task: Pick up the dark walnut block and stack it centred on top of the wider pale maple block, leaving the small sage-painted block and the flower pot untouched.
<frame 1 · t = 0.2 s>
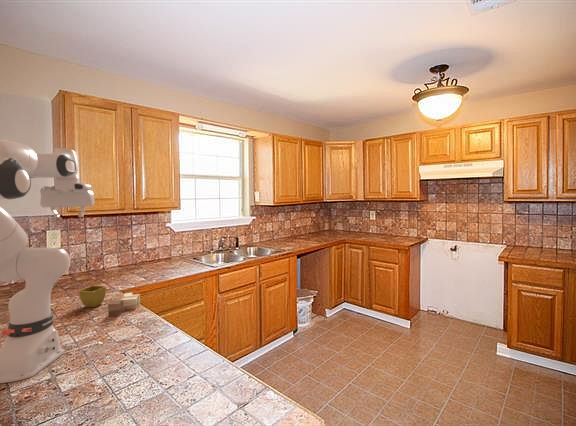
hand: (69, 217, 135), 47 cm above the countertop, fingers open, 8 cm apart
flower pot: (93, 305, 157), on the countertop
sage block: (128, 301, 162), on the countertop
maple block: (131, 306, 155), on the countertop
walnut cube: (116, 314, 146), on the countertop
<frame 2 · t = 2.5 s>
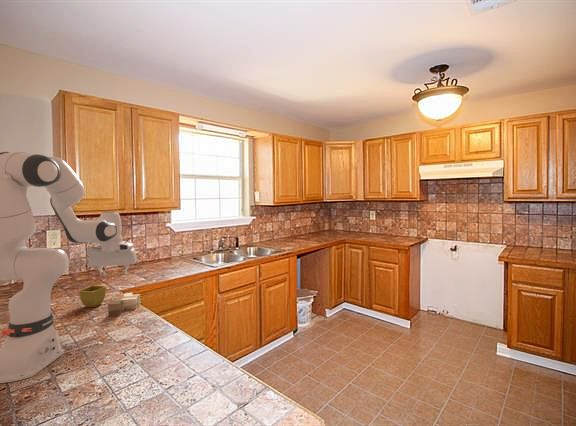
hand: (113, 274, 144), 19 cm above the countertop, fingers open, 8 cm apart
nothing on the countertop moved.
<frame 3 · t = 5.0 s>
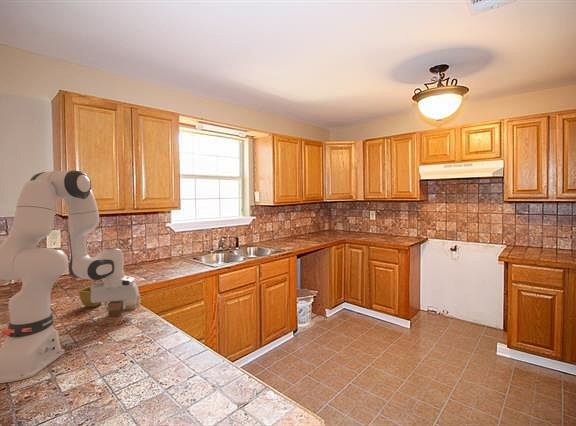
hand: (116, 309, 146), 2 cm above the countertop, fingers closed on walnut cube, 5 cm apart
walnut cube: (116, 313, 146), on the countertop, touching gripper
everything else where it was.
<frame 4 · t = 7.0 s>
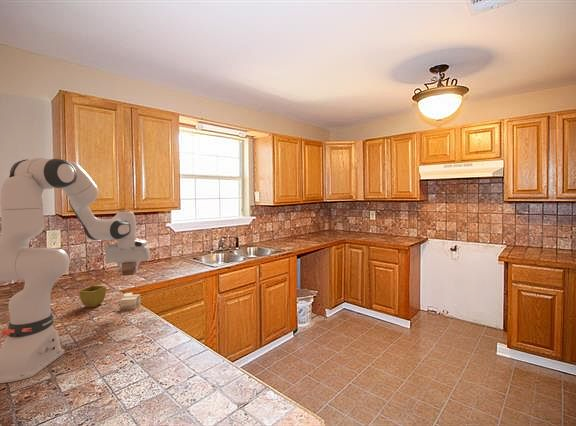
hand: (129, 269, 154), 19 cm above the countertop, fingers closed on walnut cube, 5 cm apart
walnut cube: (129, 273, 154), point 17 cm above the countertop, touching gripper
everything else where it was.
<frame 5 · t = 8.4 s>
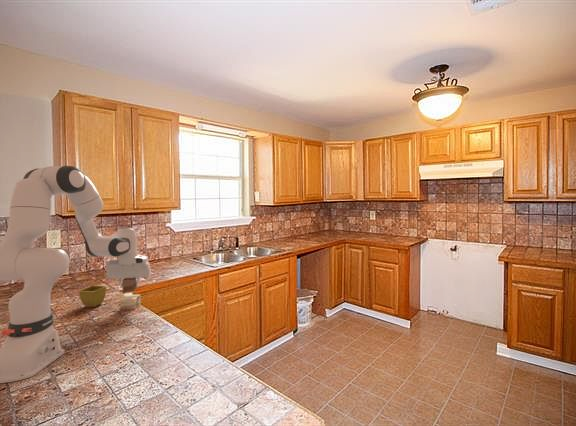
hand: (129, 286, 155), 10 cm above the countertop, fingers closed on walnut cube, 5 cm apart
walnut cube: (130, 290, 155), point 8 cm above the countertop, touching gripper
everything else where it was.
when the fingers open (8 cm above the countertop, at t = 9.3 s): walnut cube drops 1 cm, resting on maple block.
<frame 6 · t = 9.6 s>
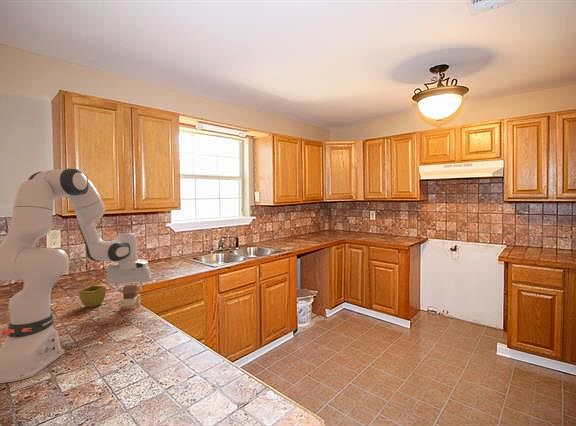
hand: (130, 290, 155), 8 cm above the countertop, fingers open, 8 cm apart
maple block: (131, 306, 155), on the countertop, touching walnut cube
walnut cube: (130, 297, 155), point 5 cm above the countertop, touching maple block
everything else where it was.
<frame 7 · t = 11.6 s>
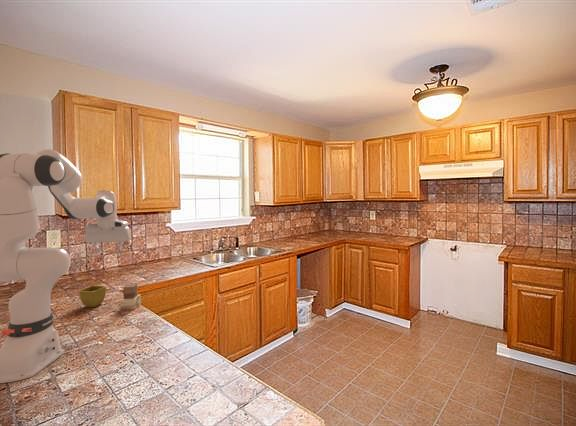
hand: (109, 250, 153), 29 cm above the countertop, fingers open, 8 cm apart
maple block: (131, 306, 155), on the countertop
walnut cube: (130, 297, 155), point 5 cm above the countertop
everything else where it was.
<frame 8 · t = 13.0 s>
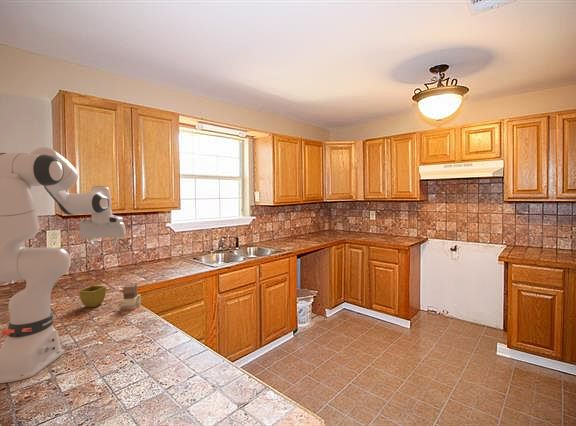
hand: (104, 246, 153), 31 cm above the countertop, fingers open, 8 cm apart
maple block: (131, 306, 155), on the countertop, touching walnut cube
walnut cube: (130, 296, 155), point 5 cm above the countertop, touching maple block
everything else where it was.
at the end: walnut cube 0.0 cm off-centre on the maple block, point 5.0 cm above the maple block's base; walnut cube tilted 0°; the gripper is holding nothing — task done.
